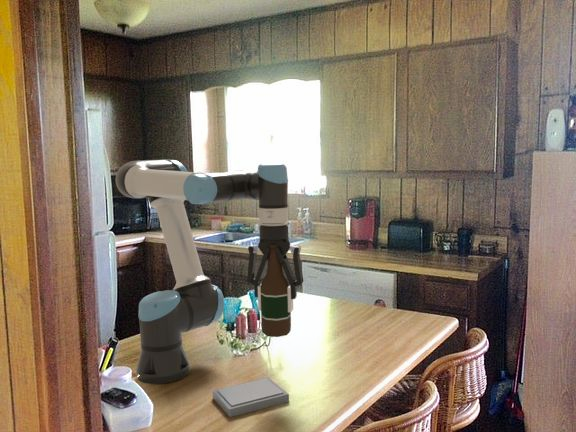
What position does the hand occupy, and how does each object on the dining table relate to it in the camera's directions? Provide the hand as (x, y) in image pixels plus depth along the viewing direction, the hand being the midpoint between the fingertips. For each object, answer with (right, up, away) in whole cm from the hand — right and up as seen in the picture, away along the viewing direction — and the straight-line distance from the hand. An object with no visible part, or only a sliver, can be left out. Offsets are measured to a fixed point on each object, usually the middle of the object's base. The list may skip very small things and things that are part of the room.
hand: (275, 309), depth 141 cm
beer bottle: (0, -6, +1) cm, 6 cm away
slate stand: (-6, -22, -4) cm, 24 cm away
